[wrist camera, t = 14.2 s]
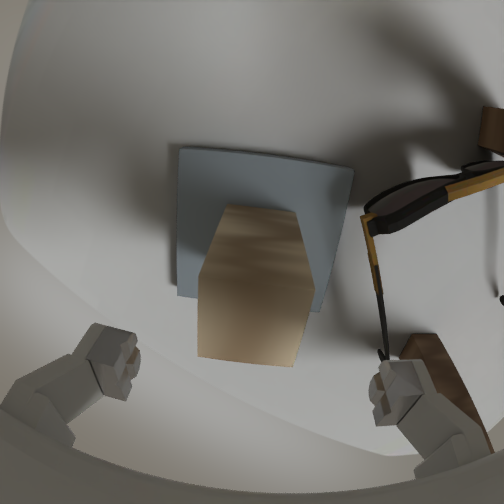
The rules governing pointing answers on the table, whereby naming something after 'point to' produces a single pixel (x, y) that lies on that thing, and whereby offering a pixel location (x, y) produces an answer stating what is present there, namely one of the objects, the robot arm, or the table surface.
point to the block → (254, 288)
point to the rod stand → (429, 345)
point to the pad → (258, 205)
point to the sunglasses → (419, 212)
